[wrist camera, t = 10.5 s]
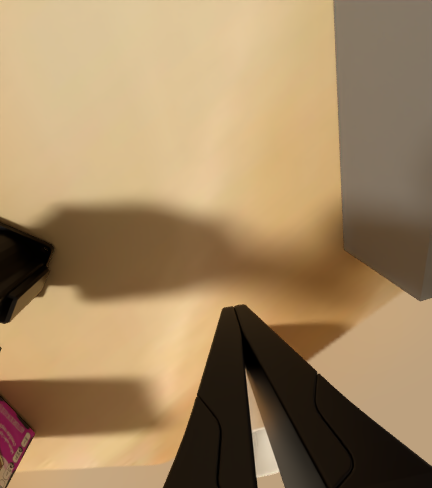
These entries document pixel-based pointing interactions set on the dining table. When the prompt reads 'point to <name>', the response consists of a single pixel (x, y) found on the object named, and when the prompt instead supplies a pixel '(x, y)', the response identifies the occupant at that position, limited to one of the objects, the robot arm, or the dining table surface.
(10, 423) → the candy bar box
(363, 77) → the tray
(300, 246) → the dining table surface
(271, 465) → the white cup
